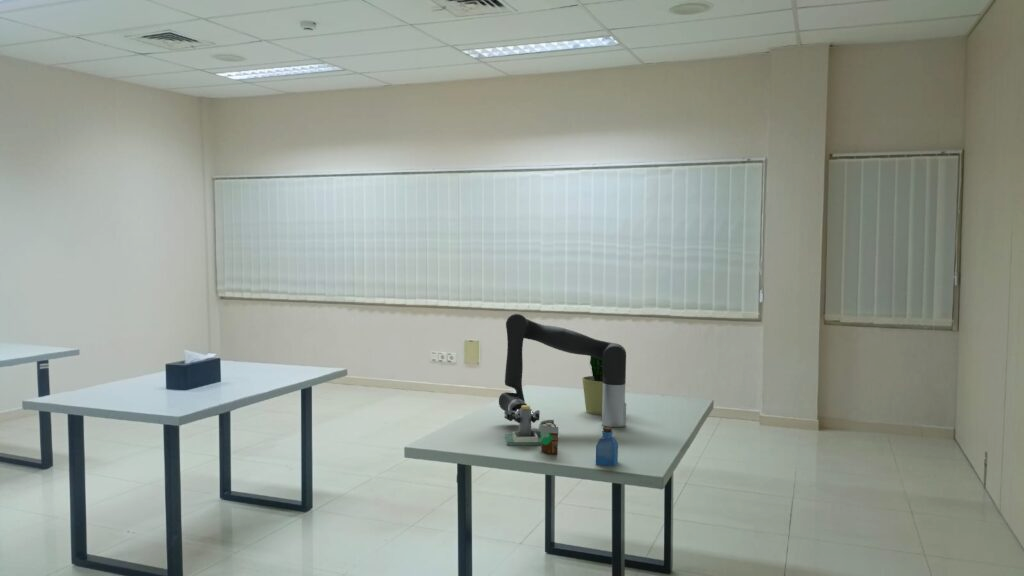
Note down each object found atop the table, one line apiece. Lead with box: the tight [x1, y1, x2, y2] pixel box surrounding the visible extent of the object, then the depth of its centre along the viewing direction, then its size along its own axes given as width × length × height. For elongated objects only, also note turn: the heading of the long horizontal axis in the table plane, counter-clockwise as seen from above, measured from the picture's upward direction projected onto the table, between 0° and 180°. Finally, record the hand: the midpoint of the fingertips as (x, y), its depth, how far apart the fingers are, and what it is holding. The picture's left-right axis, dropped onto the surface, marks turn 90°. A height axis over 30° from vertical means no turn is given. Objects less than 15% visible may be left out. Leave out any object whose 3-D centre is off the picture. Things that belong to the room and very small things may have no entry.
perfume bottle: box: [595, 426, 619, 467], centre depth 247 cm, size 6×6×12 cm
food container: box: [538, 419, 559, 456], centre depth 261 cm, size 12×6×10 cm, turn 5°
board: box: [504, 428, 541, 446], centre depth 274 cm, size 14×12×3 cm
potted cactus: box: [582, 356, 603, 415], centre depth 326 cm, size 15×15×30 cm
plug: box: [518, 404, 533, 437], centre depth 272 cm, size 4×4×12 cm
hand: (526, 420), depth 269 cm, fingers open, 5 cm apart
